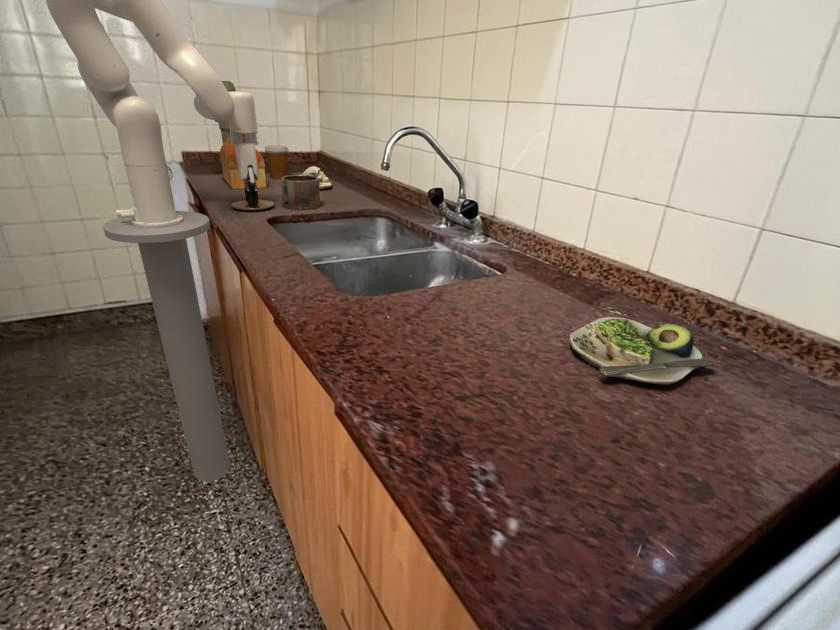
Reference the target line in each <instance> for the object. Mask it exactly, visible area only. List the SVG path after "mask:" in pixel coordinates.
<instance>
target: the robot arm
mask: <svg viewBox="0 0 840 630" xmlns="http://www.w3.org/2000/svg"><path fill="white" fill-rule="evenodd" d="M45 3H46V6H47V9H48V12H49V14H50V16H51V17H52V18H51V19H52V20H53V21H54V23H55V25H56V26H57V28H58V30H59V32H60V34H61V35H62V37H63V39H64V40H65V42H66V44H67V45H68V47H69V48H70V50H71V51H72V53H73V55H74V56H75V58H76V60H77V62H76V63H77V64H76V65H77V70H78V73H79V75H80V76H81V79H82V80H83V82H84V84H85V86H86V87H87V88H88V90H89V91H90V93H91V95H92V96H93V97H94V99H95V101H96V103H97V104H98V105H99V107H100V108H101V110H102V111H103V113H104V114H105V116H106V117H107V119H108V121H109V122H110V123H111V124H112V125H113V126H114V127H115V128H116V131H117V135H118V141H119V147H120V152H121V156H122V161H123V165H124V168H125V173H126V177H127V180H128V185H129V189H130V193H131V197H132V202H133V207H129V209H125V208H123V209H116V210H115V211H116V212H115V213H116V217H117V218H119V217H122V218H128V217H132V218H133V219H132V220H131V222H132V225H134V226H136V227H141V228H160V227H168V226H173V225H177V224H180V223H181V222H183V221H184V219H183V216H182V215H180V214H176V211H177V210H176V206H175V201H174V196H173V190H172V186H171V180H170V176H169V175H170V174H169V170H168V166H167V160H166V156H165V150H164V144H163V136H162V135H163V134H162V128H161V127H162V126H161V119H160V116H159V115H158V112H157V111H156V109H155V107H154V106H153V105H152V104H151V103H150V102H149V101H147V100H146V99H144V98H142V97H140V96H139V95H138V93H137V91H136V90H135V88H134V86H133V84H132V83H131V81H130V77H131V76H130V75H131V74H130V70H129V67H128V65H127V63H126V62H125V60H124V58H123V57H122V56H121V54H120V53H119V50H118V49H117V48H116V45H115V44H114V43H113V40H112V39H111V38H110V36H109V35H108V32H107V31H106V29H105V27H104V25H103V24H102V21H101V20H100V18H99V16H98V13H97V10H99V11H101V12H104V13H105V14H109V15H111V16H114V17H116V18H119V19H122V20H125V21H129V22H130V23H131V22H132V23H133V24H134V26H135V28H137V30H138V31H139V33H140V34H141V35H142V37H143V38H144V39H145V41H146V42H147V43H148V45H149V46H150V48H151V49H152V51H153V52H154V54H156V56H157V57H158V59H159V60H160V61H161V62H162V63H163V64H164V65H165V66H167V67H168V68H169V69H170V70H171V71H173V72H174V73H175V74H177V75H178V76H179V77H180V78H181V79H182V80H183V81H184V82H185V83H186V84H187V85H188V86H189V87H190V89H191V90H192V91H193V93H194V94H195V96H194V98H193V106H194V109H195V110H196V112H197V113H198V114H199V115H200V116H201V117H203V118H204V119H208V120H212V121H215V120H216V121H227V120H228V121H229V128H230V136H231V143H232V145H235V150H236V161H237V170H238V176H239V178H240V179H241V180H242V181H244V185H245V188H243V189H244V196H245V200H246V201H247V202H248V204H258V203H259V200H260V199H259V193H258V188H257V187H256V180H258V166H257V157H256V150H257V148H256V146H259V145H260V143H259V133H258V123H257V115H256V114H257V113H256V104H255V97H254V95H253V94H252V93H251V92H247V91H236V92H228V91H227V89H226V88H225V86H224V85H223V83H222V81H223V80H221V79H220V77H219V76H218V74H217V73H216V71H215V70H214V69H213V68H212V66H211V65H210V64H209V62H207V60H206V59H205V58H204V57H203V56H202V55H201V54H200V52H199V51H198V50H197V49H196V48H195V47H194V45H193V44H192V43H191V42H190V41H189V39H188V37H187V36H186V35H185V33H184V32H183V31H182V29H181V27H180V26H179V24H178V23H177V21H176V20H175V19H174V17H173V16H172V14H171V13H170V11H169V10H168V8H167V7H166V5H165V3H164V2H163V1H162V0H45ZM248 183H249V184H248ZM246 187H247V189H246Z"/></svg>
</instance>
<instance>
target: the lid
mask: <svg viewBox="0 0 840 630" xmlns="http://www.w3.org/2000/svg"><path fill="white" fill-rule="evenodd" d="M248 184H249V183H248ZM246 189H247V187H246ZM258 200H259V203H258V204H248V202H247V201H246V199H241V200H238V201H237V200H236V201H234V202H232V203H231V207H232V208H233V209H236V210H239V211H240V210H241V211H246V212H248V211H250V212H252V211H253V212H255V211H256V212H257V211H262V210H266V209H270V208H273V207H275V202H273V201H271V200H267V199H258Z"/></svg>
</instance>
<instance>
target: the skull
mask: <svg viewBox="0 0 840 630" xmlns="http://www.w3.org/2000/svg"><path fill="white" fill-rule="evenodd" d="M302 175H309V176H315V177H318V178H319V186H320V190H324V189H328V188H331V187H333V184H332V183H331V182H330V179H329V177H328V176H326V174H325V172H324V171H321V168H320V167H317V166H314V165H313V166H308V168H306V169H304V171H303V172H302Z"/></svg>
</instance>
